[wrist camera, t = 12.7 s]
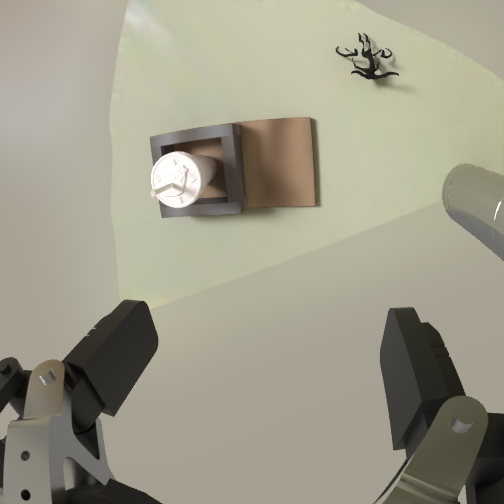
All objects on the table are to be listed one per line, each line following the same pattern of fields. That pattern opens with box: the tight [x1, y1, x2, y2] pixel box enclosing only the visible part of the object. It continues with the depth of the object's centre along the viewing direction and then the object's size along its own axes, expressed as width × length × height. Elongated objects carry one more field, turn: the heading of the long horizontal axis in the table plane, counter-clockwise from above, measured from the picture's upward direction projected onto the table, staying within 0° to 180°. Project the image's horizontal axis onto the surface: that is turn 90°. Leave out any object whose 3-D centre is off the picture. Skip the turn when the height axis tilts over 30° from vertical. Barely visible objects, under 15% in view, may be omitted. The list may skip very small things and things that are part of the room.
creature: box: [336, 33, 399, 79], centre depth 27 cm, size 8×5×8 cm
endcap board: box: [150, 117, 315, 218], centre depth 37 cm, size 22×12×5 cm, turn 96°
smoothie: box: [151, 152, 217, 208], centre depth 32 cm, size 6×6×14 cm
